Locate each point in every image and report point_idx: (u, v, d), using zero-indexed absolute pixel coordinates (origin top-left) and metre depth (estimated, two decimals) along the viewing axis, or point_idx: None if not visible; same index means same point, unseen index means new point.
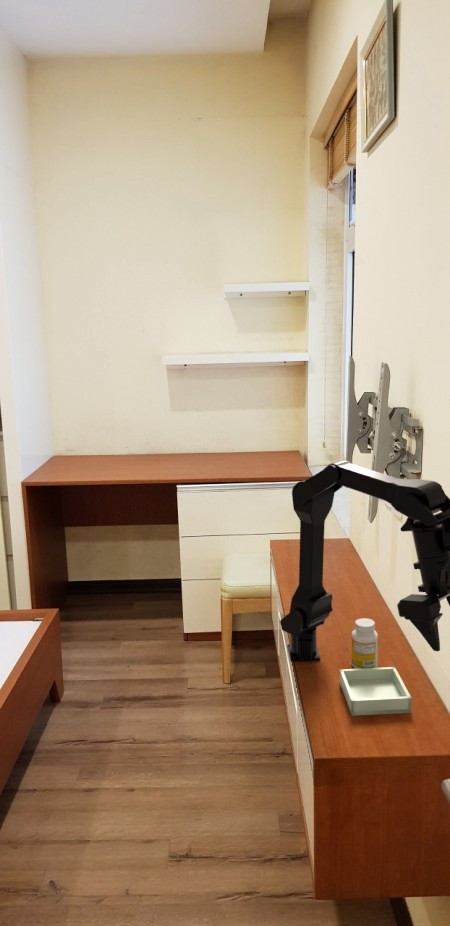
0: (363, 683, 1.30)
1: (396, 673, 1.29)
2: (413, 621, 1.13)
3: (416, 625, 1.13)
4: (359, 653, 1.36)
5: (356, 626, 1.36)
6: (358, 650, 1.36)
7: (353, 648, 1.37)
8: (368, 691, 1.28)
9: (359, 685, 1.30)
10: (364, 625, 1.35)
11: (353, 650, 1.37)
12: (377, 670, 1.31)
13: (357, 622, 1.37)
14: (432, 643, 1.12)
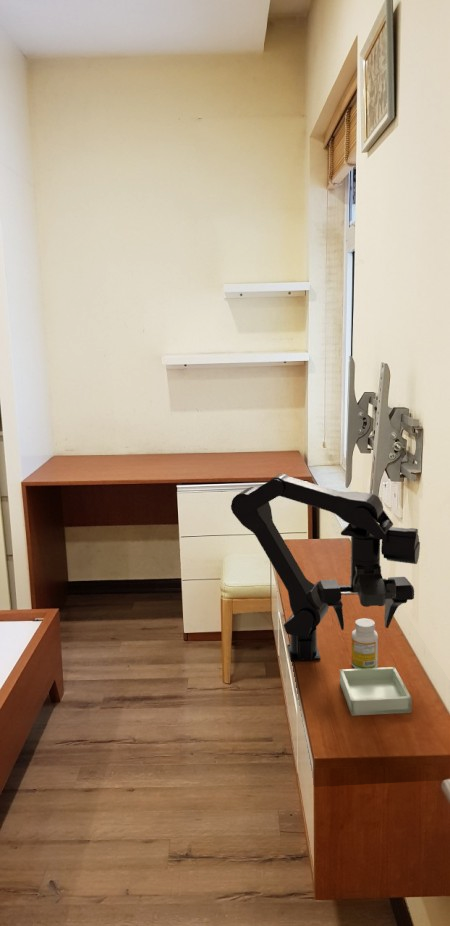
0: (363, 683, 1.30)
1: (396, 673, 1.29)
2: None
3: None
4: (359, 653, 1.36)
5: (356, 626, 1.36)
6: (358, 650, 1.36)
7: (353, 648, 1.37)
8: (368, 691, 1.28)
9: (359, 685, 1.30)
10: (364, 625, 1.35)
11: (353, 650, 1.37)
12: (377, 670, 1.31)
13: (357, 622, 1.37)
14: (339, 622, 1.37)
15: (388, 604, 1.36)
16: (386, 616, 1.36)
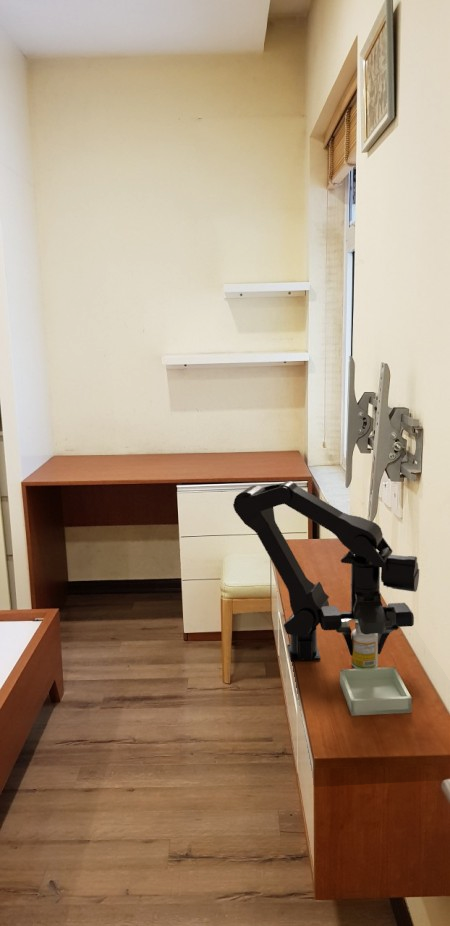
0: (363, 683, 1.30)
1: (396, 673, 1.29)
2: None
3: None
4: (359, 653, 1.36)
5: (356, 626, 1.36)
6: (358, 650, 1.36)
7: (353, 648, 1.37)
8: (368, 691, 1.28)
9: (359, 685, 1.30)
10: None
11: (353, 650, 1.37)
12: (377, 670, 1.31)
13: (357, 622, 1.37)
14: None
15: None
16: (378, 642, 1.38)
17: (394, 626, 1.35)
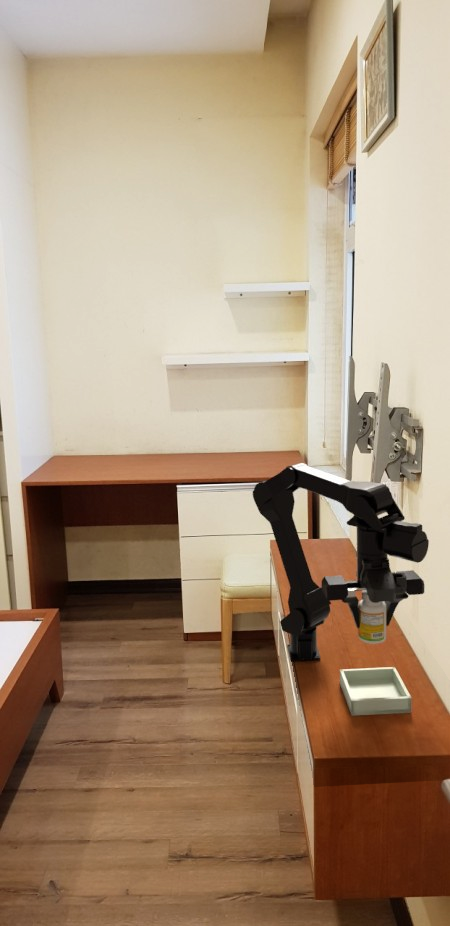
0: (363, 683, 1.30)
1: (396, 673, 1.29)
2: None
3: None
4: (367, 624, 1.27)
5: (363, 596, 1.27)
6: (366, 621, 1.27)
7: (360, 619, 1.28)
8: (368, 691, 1.28)
9: (359, 685, 1.30)
10: None
11: (360, 622, 1.28)
12: (377, 670, 1.31)
13: (364, 591, 1.28)
14: (354, 619, 1.29)
15: (388, 600, 1.28)
16: (386, 613, 1.29)
17: (403, 595, 1.26)
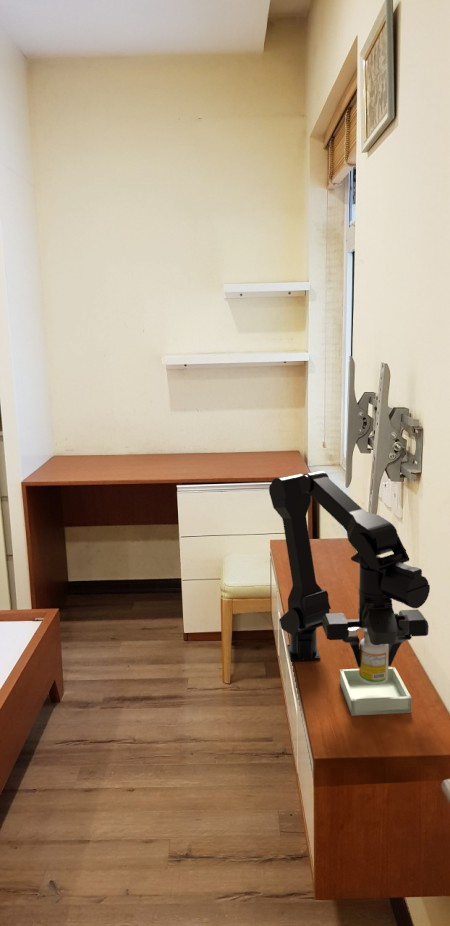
0: (363, 683, 1.30)
1: (396, 673, 1.29)
2: None
3: None
4: (368, 665, 1.23)
5: (365, 635, 1.24)
6: (367, 661, 1.23)
7: (361, 659, 1.24)
8: (368, 691, 1.28)
9: (359, 685, 1.30)
10: None
11: (361, 661, 1.25)
12: None
13: (366, 630, 1.24)
14: (355, 658, 1.25)
15: None
16: (389, 653, 1.25)
17: (407, 635, 1.22)
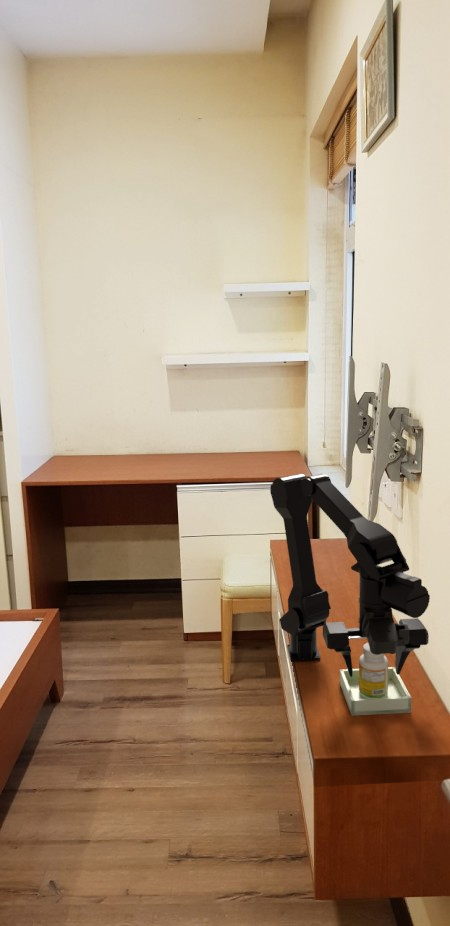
0: None
1: (396, 673, 1.29)
2: None
3: None
4: (367, 681, 1.24)
5: (364, 651, 1.24)
6: (366, 677, 1.24)
7: (361, 675, 1.25)
8: None
9: None
10: None
11: (361, 677, 1.25)
12: None
13: (365, 647, 1.25)
14: None
15: (399, 649, 1.25)
16: (397, 661, 1.25)
17: None
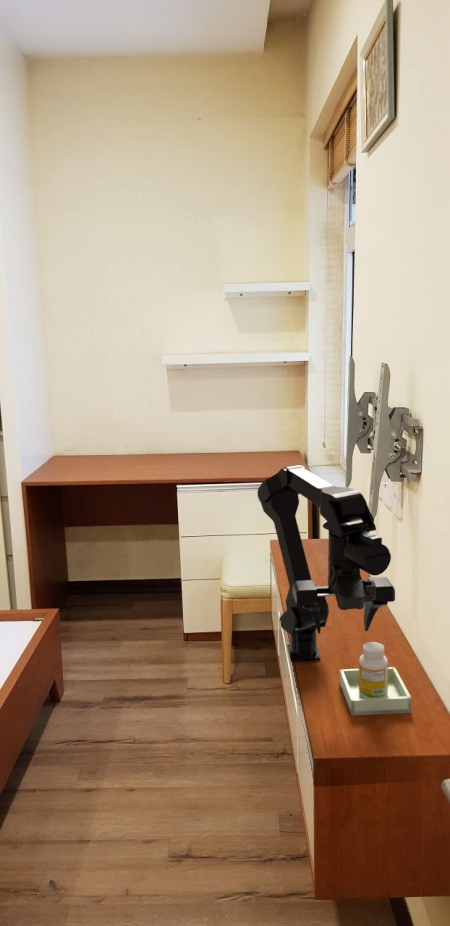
0: None
1: (396, 673, 1.29)
2: None
3: None
4: (367, 681, 1.24)
5: (364, 651, 1.24)
6: (366, 677, 1.24)
7: (361, 675, 1.25)
8: None
9: None
10: (373, 650, 1.24)
11: (361, 677, 1.25)
12: None
13: (365, 646, 1.25)
14: None
15: (368, 606, 1.28)
16: (365, 619, 1.28)
17: None
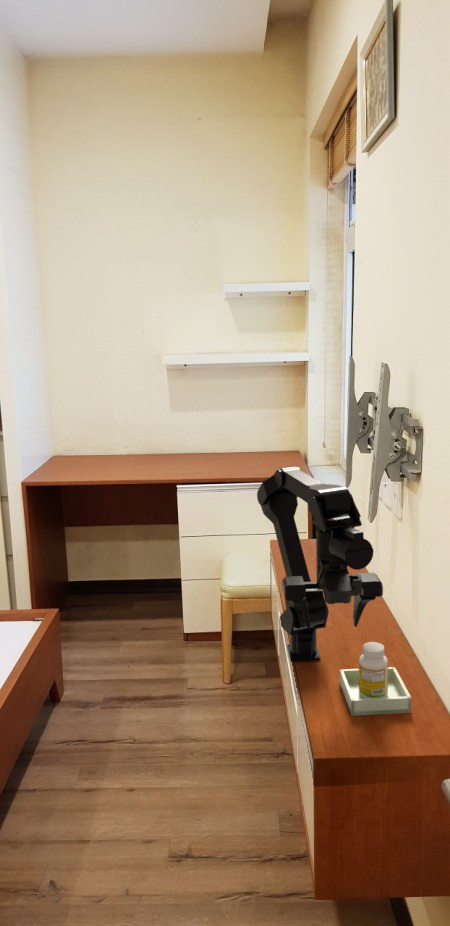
0: None
1: (396, 673, 1.29)
2: None
3: None
4: (367, 681, 1.24)
5: (364, 651, 1.24)
6: (366, 677, 1.24)
7: (361, 675, 1.25)
8: None
9: None
10: (373, 650, 1.24)
11: (361, 677, 1.25)
12: None
13: (365, 646, 1.25)
14: None
15: (356, 601, 1.29)
16: (354, 614, 1.30)
17: None
